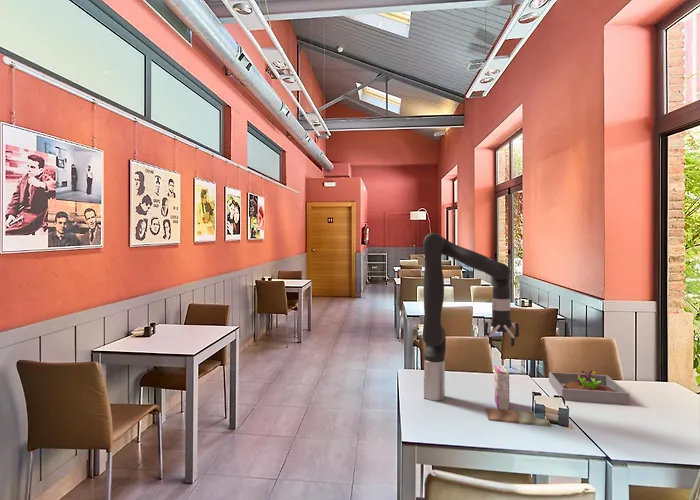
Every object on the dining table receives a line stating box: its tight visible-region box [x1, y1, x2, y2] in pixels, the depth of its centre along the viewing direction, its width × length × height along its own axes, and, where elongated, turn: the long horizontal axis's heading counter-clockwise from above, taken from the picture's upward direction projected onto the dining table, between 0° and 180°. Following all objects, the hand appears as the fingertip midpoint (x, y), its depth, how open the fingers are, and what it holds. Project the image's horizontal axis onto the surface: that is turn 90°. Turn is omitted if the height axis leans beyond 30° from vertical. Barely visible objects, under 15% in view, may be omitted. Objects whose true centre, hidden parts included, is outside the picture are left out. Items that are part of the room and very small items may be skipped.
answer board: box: [485, 408, 551, 427], centre depth 172 cm, size 23×11×2 cm, turn 76°
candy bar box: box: [493, 364, 511, 410], centre depth 185 cm, size 11×5×16 cm, turn 168°
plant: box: [563, 369, 615, 392], centre depth 202 cm, size 20×20×11 cm
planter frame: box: [548, 371, 630, 406], centre depth 201 cm, size 27×27×5 cm
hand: (501, 345), depth 185 cm, fingers open, 8 cm apart
